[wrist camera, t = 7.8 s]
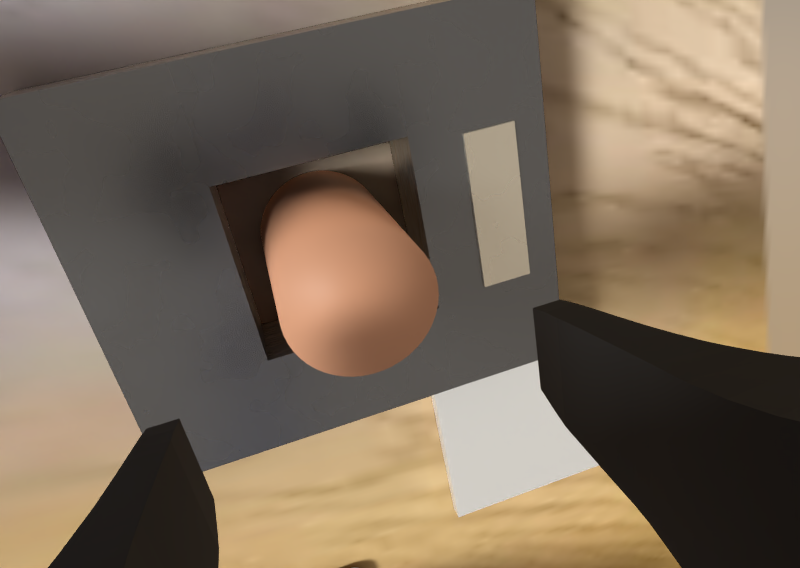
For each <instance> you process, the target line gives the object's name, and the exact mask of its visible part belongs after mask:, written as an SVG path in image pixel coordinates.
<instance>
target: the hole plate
mask: <svg viewBox="0 0 800 568" xmlns="http://www.w3.org/2000/svg"><path fill="white" fill-rule="evenodd" d="M0 137H1V139H2V141H3V143H4V145H5V147H6V149H7V151H8V153H9V155H10V158H11V160H12V162H13V164H14V166H15V168H16V170H17V172H18V174H19V176H20V178H21V181H22V183H23V185H24V187H25V189H26V191H27V193H28V195H29V197H30V199H31V202H32V204H33V206H34V208H35V210H36V212H37V214H38V216H39V218H40V220H41V223H42V225H43V227H44V229H45V231H46V233H47V235H48V237H49V239H50V241H51V243H52V246H53V248H54V250H55V252H56V254H57V256H58V258H59V260H60V262H61V264H62V267H63V269H64V271H65V273H66V275H67V277H68V279H69V281H70V283H71V285H72V287H73V290H74V292H75V294H76V296H77V298H78V300H79V302H80V304H81V306H82V308H83V311H84V313H85V315H86V317H87V319H88V321H89V323H90V325H91V327H92V329H93V332H94V334H95V336H96V338H97V340H98V342H99V344H100V346H101V348H102V350H103V352H104V355H105V357H106V359H107V361H108V363H109V365H110V367H111V369H112V371H113V373H114V376H115V378H116V380H117V382H118V384H119V386H120V388H121V390H122V392H123V394H124V397H125V399H126V401H127V403H128V405H129V407H130V409H131V411H132V413H133V415H134V417H135V420H136V422H137V424H138V426H139V428H140V430H141V432H142V434H143V432H144V431H145V430H146V429H147V428H150V427H153V426H156V425H160V424H163V423H166V422H169V421H173V420H176V419H180V421H181V423H182V426H183V428H184V430H185V433H186V435H187V437H188V440H189V442H190V444H191V447H192V449H193V451H194V454H195V456H196V458H197V461H198V463H199V465H200V468H201V470H202V472H203V471H206V470H209V469H212V468H215V467H218V466H221V465H224V464H227V463H230V462H233V461H236V460H239V459H242V458H245V457H248V456H251V455H254V454H257V453H260V452H263V451H266V450H269V449H272V448H275V447H278V446H281V445H284V444H287V443H290V442H293V441H296V440H299V439H302V438H305V437H309V436H312V435H315V434H318V433H321V432H324V431H327V430H330V429H333V428H336V427H339V426H342V425H345V424H348V423H351V422H354V421H357V420H360V419H363V418H366V417H369V416H372V415H375V414H378V413H381V412H384V411H387V410H390V409H393V408H396V407H399V406H402V405H405V404H408V403H411V402H414V401H417V400H420V399H423V398H426V397H429V396H432V395H435V394H438V393H441V392H444V391H447V390H450V389H453V388H456V387H459V386H462V385H465V384H468V383H471V382H474V381H477V380H480V379H483V378H486V377H489V376H492V375H495V374H498V373H501V372H504V371H507V370H510V369H513V368H516V367H519V366H522V365H525V364H528V363H531V362H534V361H537V360H538V357H537V347H536V337H535V327H534V317H533V308H534V307H538V306H541V305H544V304H547V303H550V302H554V301H557V300H559V293H558V280H557V268H556V255H555V243H554V230H553V218H552V205H551V193H550V181H549V168H548V156H547V143H546V131H545V118H544V106H543V93H542V81H541V69H540V56H539V44H538V31H537V19H536V6H535V0H431V1H426V2H421V3H417V4H412V5H408V6H403V7H398V8H394V9H389V10H385V11H380V12H375V13H371V14H366V15H362V16H357V17H352V18H348V19H343V20H338V21H334V22H329V23H325V24H320V25H315V26H311V27H306V28H302V29H297V30H292V31H288V32H283V33H279V34H274V35H269V36H265V37H260V38H256V39H251V40H246V41H242V42H237V43H233V44H228V45H223V46H219V47H214V48H210V49H205V50H200V51H196V52H191V53H187V54H182V55H177V56H173V57H168V58H164V59H159V60H154V61H150V62H145V63H141V64H136V65H131V66H127V67H122V68H117V69H113V70H108V71H104V72H99V73H94V74H90V75H85V76H81V77H76V78H71V79H67V80H62V81H58V82H53V83H48V84H44V85H39V86H35V87H30V88H25V89H21V90H16V91H13V92H10V93H8V94H5V95H2V96H0ZM388 141H389V143H390V148H391V153H392V158H393V163H394V168H395V173H396V179H397V184H398V189H399V194H400V199H401V204H402V209H403V214H404V220H405V225H406V230H407V235H408V236H409V237H410V238H411V239H412V240H413V241H414V242H415V244H416V245H417V246H418V247H419V248H420V249H421V250H422V251H423V252H424V254H425V255H426V257H427V258H428V259H429V261H430V263H431V265H432V267H433V269H434V271H435V274H436V277H437V282H438V291H439V299H438V307H437V312H436V316H435V318H434V321H433V324H432V326H431V328H430V330H429V332H428V333H427V335H426V336H425V338H424V340H423V341H422V342H421V343H420V344H419V346H418V347H417V348H416V349H415V350H414V351H413V352H412V353H411V354H410V355H409V356H407V357H406V358H405V359H403V360H402V361H400V362H399V363H397V364H395V365H394V366H392V367H390V368H388V369H385V370H383V371H380V372H377V373H374V374H370V375H365V376H356V377H344V376H337V375H332V374H328V373H324V372H322V371H320V370H317V369H315V368H313V367H312V366H310V365H308V364H307V363H305V362H304V361H303V360H301V359H300V358H299V357H298V356H297V355H296V354H295V353H294V352H293V350H292V349H291V348H290V346H289V345H288V343H287V341H286V339H285V337H284V335H283V332H282V329H281V326H280V322H279V320H276V321H273V322H269V323H266V324H263V325H262V323H261V320H260V317H259V314H258V311H257V308H256V305H255V302H254V299H253V296H252V293H251V290H250V287H249V284H248V281H247V278H246V275H245V272H244V269H243V266H242V263H241V260H240V257H239V254H238V251H237V248H236V245H235V242H234V239H233V236H232V233H231V230H230V227H229V224H228V221H227V218H226V215H225V212H224V209H223V206H222V203H221V200H220V197H219V194H218V191H217V188H216V185H220V184H224V183H228V182H232V181H235V180H239V179H243V178H247V177H251V176H255V175H259V174H263V173H267V172H271V171H275V170H279V169H283V168H286V167H290V166H294V165H298V164H302V163H306V162H310V161H314V160H318V159H322V158H326V157H330V156H334V155H337V154H341V153H345V152H349V151H353V150H357V149H361V148H365V147H369V146H373V145H377V144H381V143H385V142H388Z"/></svg>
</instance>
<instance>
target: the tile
mask: <svg viewBox="0 0 800 568" xmlns="http://www.w3.org/2000/svg"><path fill="white" fill-rule="evenodd" d="M431 397H432V402H433V407H434V412H435V417H436V422H437V427H438V432H439V437H440V442H441V447H442V451H443V456H444V461H445V466H446V471H447V476H448V481H449V486H450V491H451V496H452V501H453V506H454V509H455V511H456V513H457V515H458V517H461V516H463V515H466V514H469V513H471V512H474V511H477V510H480V509H482V508H485V507H488V506H490V505H493V504H496V503H498V502H501V501H504V500H507V499H509V498H512V497H515V496H517V495H520V494H523V493H525V492H528V491H531V490H534V489H536V488H539V487H542V486H544V485H547V484H550V483H552V482H555V481H558V480H561V479H563V478H566V477H569V476H571V475H574V474H577V473H579V472H582V471H585V470H588V469H590V468H593V467H596V466H598V465H599V464H598V463H597V462H596V461H595V460H594V459H593V458H592V456H591V455H590V454H589V453H588V452H587V451H586V450H585V449H584V447H583V446H582V445H581V444H580V443H579V442H578V441H577V439H576V438H575V437H574V436H573V435H572V434H571V432H570V431H569V430H568V429H567V428H566V427H565V425H564V424H563V422H562V421H561V419H560V418H559V416H558V415H557V413H556V412H555V411H554V409H553V407H552V406H551V404H550V403H549V401H548V400H547V398H546V396H545V395H544V393H543V392H542V390H541V387H540V377H539V367H538V360H537V361H534V362H531V363H528V364H525V365H522V366H519V367H516V368H513V369H510V370H507V371H504V372H501V373H498V374H495V375H492V376H489V377H486V378H483V379H480V380H477V381H474V382H471V383H468V384H465V385H462V386H459V387H456V388H453V389H450V390H447V391H444V392H441V393H438V394H435V395H432V396H431Z"/></svg>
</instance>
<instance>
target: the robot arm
mask: <svg viewBox="0 0 800 568" xmlns="http://www.w3.org/2000/svg"><path fill="white" fill-rule="evenodd" d="M533 317H534V327H535V337H536V347H537V357H538V367H539V377H540V387H541V390H542V392H543V393H544V395H545V396H546V398H547V400H548V401H549V403H550V404H551V406H552V407H553V409H554V411H555V412H556V413H557V415H558V416H559V418H560V419H561V421H562V422H563V424H564V425H565V427H566V428H567V429H568V430H569V431H570V432H571V434H572V435H573V436H574V437H575V438H576V439H577V441H578V442H579V443H580V444H581V445H582V446H583V447H584V449H585V450H586V451H587V452H588V453H589V454H590V455H591V456H592V458H593V459H594V460H595V461H596V462H597V463H598V464H599V465H600V467H601V468H602V469H603V470H604V471H605V472H606V473H607V474H608V476H609V477H610V478H611V479H612V480H613V481H614V482H615V483H616V485H617V486H618V487H619V488H620V489H621V490H622V491H623V492H624V494H625V495H626V496H627V497H628V498H629V499H630V500H631V501H632V503H633V504H634V505H635V506H636V507H637V508H638V510H639V511H640V512H641V513H642V515H643V516H644V517H645V518H646V519H647V521H648V522H649V523H650V524H651V526H652V527H653V528H654V530H655V531H656V533H657V534H658V535H659V537H660V538H661V540H662V541H663V542H664V544H665V545H666V547H667V548H668V549H669V551H670V552H671V553H672V555H673V556H674V558H675V559H676V560H677V562H678V563H679V565H680V566H681V567H682V568H800V357H794V356H785V355H778V354H771V353H764V352H758V351H753V350H747V349H742V348H736V347H731V346H725V345H720V344H716V343H711V342H707V341H702V340H698V339H694V338H690V337H687V336H683V335H679V334H675V333H671V332H667V331H664V330H660V329H657V328H653V327H650V326H646V325H643V324H640V323H637V322H633V321H630V320H627V319H624V318H621V317H617V316H614V315H611V314H608V313H605V312H602V311H599V310H595V309H592V308H589V307H586V306H582V305H579V304H575V303H572V302H568V301H563V300H557V301H554V302H550V303H547V304H544V305H541V306H538V307H534V308H533ZM218 562H219V544H218V533H217V522H216V513H215V503H214V498H213V496H212V493H211V491H210V489H209V486H208V484H207V482H206V479H205V477H204V475H203V472H202V470H201V468H200V465H199V463H198V461H197V458H196V456H195V454H194V451H193V449H192V447H191V444H190V442H189V440H188V437H187V435H186V433H185V430H184V428H183V426H182V423H181V421H180V419H176V420H173V421H169V422H166V423H163V424H160V425H156V426H153V427H150V428H147V429H146V430H145V431H144V432H143V434H142V435H141V437H140V438H139V440H138V441H137V443H136V444H135V446H134V447H133V449H132V450H131V452H130V454H129V455H128V457H127V458H126V460H125V461H124V463H123V464H122V466H121V467H120V469H119V471H118V472H117V474H116V475H115V477H114V478H113V479H112V481H111V482H110V484H109V485H108V487H107V488H106V490H105V491H104V493H103V494H102V496H101V497H100V499H99V500H98V502H97V503H96V505H95V506H94V508H93V509H92V510H91V512H90V513H89V514H88V516H87V517H86V518H85V520H84V521H83V522H82V524H81V525H80V526H79V528H78V529H77V530H76V532H75V533H74V534H73V536H72V537H71V538H70V540H69V541H68V542H67V544H66V545H65V546H64V548H63V549H62V550H61V552H60V553H59V554H58V556H57V557H56V558H55V559H54V561H53V562H52V563H51V564H50V566H49V567H48V568H218ZM353 568H357V567H353Z"/></svg>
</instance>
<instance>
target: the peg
mask: <svg viewBox="0 0 800 568" xmlns="http://www.w3.org/2000/svg"><path fill="white" fill-rule="evenodd" d="M261 240H262V245H263V250H264V254H265V259H266V263H267V268H268V272H269V277H270V281H271V286H272V290H273V295H274V299H275V304H276V309H277V313H278V318H279V322H280V326H281V329H282V332H283V335H284V337H285V339H286V341H287V343H288V345H289V346H290V348H291V349H292V350H293V352H294V353H295V354H296V355H297V356H298V357H299V358H300V359H301V360H303V361H304V362H305V363H307V364H308V365H310V366H312V367H313V368H315V369H317V370H320V371H322V372H324V373H328V374H332V375H337V376H344V377H356V376H365V375H370V374H374V373H377V372H380V371H383V370H385V369H388V368H390V367H392V366H394V365H395V364H397V363H399V362H400V361H402V360H403V359H405V358H406V357H407V356H409V355H410V354H411V353H412V352H413V351H414V350H415V349H416V348H417V347H418V346H419V344H420V343H421V342H422V341H423V340H424V338H425V336H426V335H427V333H428V332H429V330H430V328H431V326H432V324H433V321H434V318H435V316H436V312H437V307H438V299H439V291H438V282H437V277H436V274H435V271H434V269H433V267H432V265H431V263H430V261H429V259H428V258H427V257H426V255H425V254H424V252H423V251H422V250H421V249H420V248H419V247H418V246H417V245H416V244H415V242H414V241H413V240H412V239H411V238H410V237H409V236H408V235H407V234H406V232H405V231H404V230H403V229H402V228H401V227H400V226H399V225H398V223H397V222H396V221H395V220H394V219H393V218H392V217H391V216H390V215H389V213H388V212H387V211H386V210H385V209H384V208H383V207H382V206H381V205H380V203H379V202H378V201H377V200H376V199H375V198H374V197H373V196H372V195H371V193H370V192H369V191H368V190H367V189H366V188H365V187H364V186H363V185H362V184H360V183H359V182H358V181H356V180H355V179H353V178H351V177H349V176H347V175H345V174H342V173H338V172H333V171H313V172H308V173H304V174H301V175H299V176H297V177H294V178H293V179H291V180H289V181H288V182H286V183H285V184H284V185H282V186H281V187H280V188H279V189H278V190H277V191H276V192H275V193H274V195H273V196H272V197H271V199H270V200H269V202H268V204H267V206H266V208H265V210H264V213H263V217H262V221H261Z"/></svg>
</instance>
